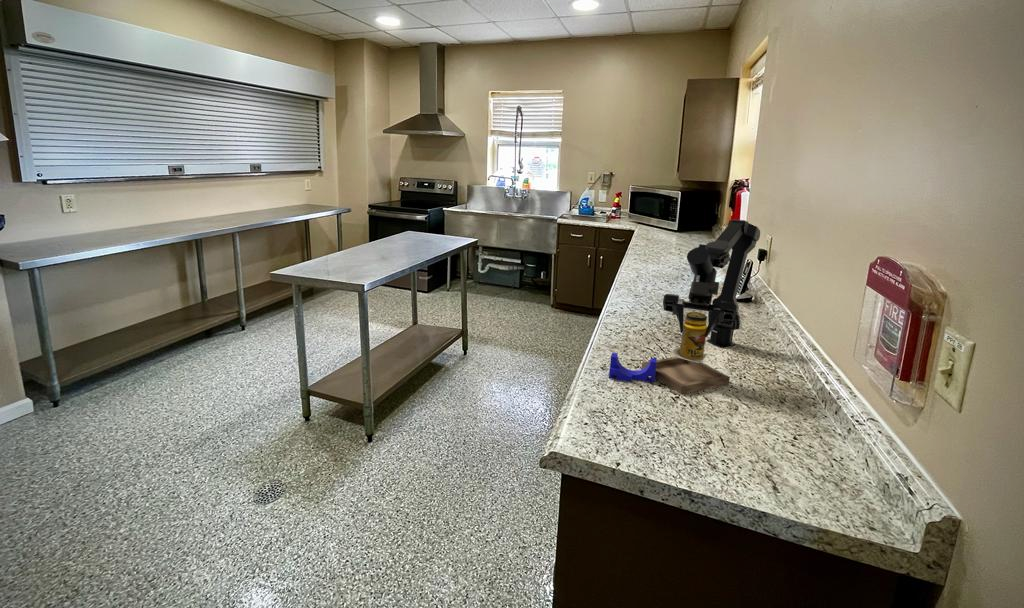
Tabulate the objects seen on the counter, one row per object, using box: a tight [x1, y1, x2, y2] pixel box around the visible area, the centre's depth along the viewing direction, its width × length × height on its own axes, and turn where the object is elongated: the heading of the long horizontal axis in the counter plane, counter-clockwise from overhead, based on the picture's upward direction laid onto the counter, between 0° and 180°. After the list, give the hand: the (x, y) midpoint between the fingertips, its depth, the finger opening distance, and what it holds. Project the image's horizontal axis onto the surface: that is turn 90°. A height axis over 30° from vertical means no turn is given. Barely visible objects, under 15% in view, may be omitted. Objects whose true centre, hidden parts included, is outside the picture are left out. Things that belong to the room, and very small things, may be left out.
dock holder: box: [640, 356, 731, 395], centre depth 139 cm, size 16×16×2 cm
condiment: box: [668, 311, 708, 363], centre depth 136 cm, size 7×8×12 cm
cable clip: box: [608, 352, 658, 383], centre depth 137 cm, size 12×4×6 cm, turn 74°
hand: (693, 334), depth 134 cm, fingers closed on condiment, 6 cm apart
